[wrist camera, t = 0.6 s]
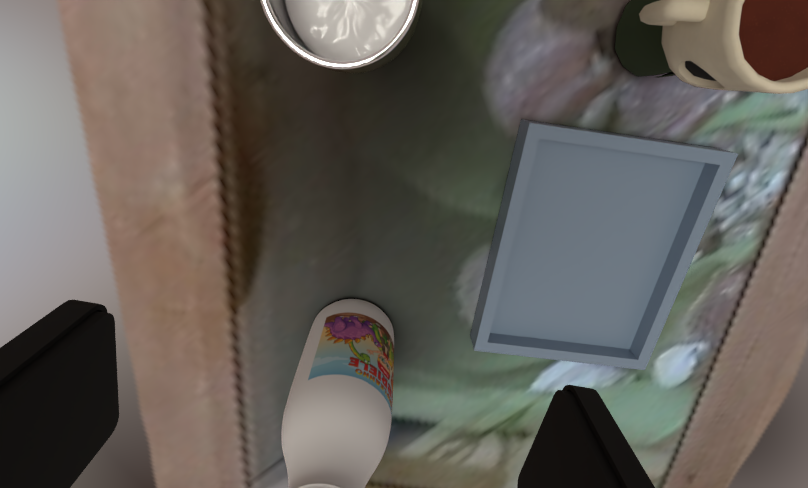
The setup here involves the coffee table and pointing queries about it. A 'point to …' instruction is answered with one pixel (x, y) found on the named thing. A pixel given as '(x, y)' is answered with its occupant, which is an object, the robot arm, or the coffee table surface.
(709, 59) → the character mug
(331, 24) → the beer glass
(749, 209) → the coffee table surface
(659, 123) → the coffee table surface
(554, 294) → the tray
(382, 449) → the milk bottle
